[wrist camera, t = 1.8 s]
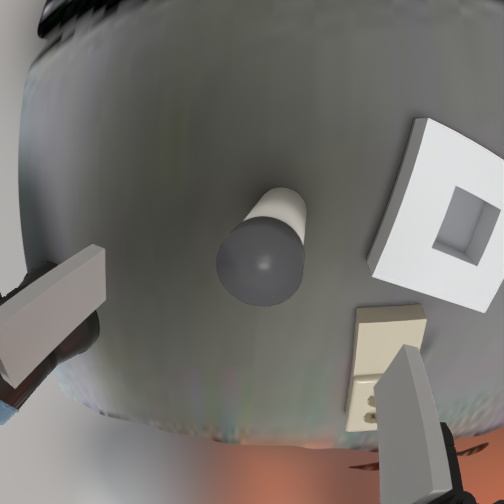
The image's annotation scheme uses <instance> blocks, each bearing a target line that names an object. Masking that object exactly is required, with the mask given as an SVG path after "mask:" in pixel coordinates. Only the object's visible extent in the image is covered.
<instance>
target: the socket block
mask: <svg viewBox="0 0 504 504" xmlns="http://www.w3.org/2000/svg"><path fill="white" fill-rule="evenodd" d="M366 261H367V264H368V267H369V270H370V273H371V276H372V277H374V278H378V279H381V280H384V281H387V282H390V283H393V284H397V285H400V286H403V287H406V288H409V289H412V290H415V291H418V292H422V293H425V294H428V295H431V296H434V297H437V298H440V299H443V300H446V301H449V302H452V303H456V304H459V305H462V306H465V307H468V308H471V309H474V310H477V311H480V312H483V313H485V311H486V310H487V308H488V306H489V305H490V303H491V301H492V299H493V297H494V296H495V294H496V292H497V290H498V288H499V286H500V284H501V282H502V280H503V278H504V160H503V159H501V158H500V157H498V156H497V155H495V154H493V153H492V152H490V151H489V150H487V149H485V148H484V147H482V146H480V145H479V144H477V143H475V142H474V141H472V140H470V139H468V138H466V137H465V136H463V135H461V134H459V133H457V132H455V131H454V130H452V129H450V128H448V127H446V126H444V125H442V124H440V123H438V122H436V121H434V120H432V119H430V118H418V119H414V120H413V124H412V128H411V131H410V135H409V139H408V142H407V146H406V149H405V152H404V156H403V159H402V162H401V165H400V168H399V172H398V175H397V178H396V181H395V184H394V187H393V190H392V192H391V195H390V198H389V201H388V204H387V207H386V209H385V212H384V215H383V218H382V220H381V223H380V226H379V228H378V231H377V233H376V236H375V238H374V241H373V243H372V246H371V248H370V251H369V253H368V256H367V258H366Z"/></svg>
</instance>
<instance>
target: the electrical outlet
mask: <svg viewBox="0 0 504 504" xmlns="http://www.w3.org/2000/svg"><path fill="white" fill-rule="evenodd" d="M426 321H427V318H426V316H425V313H424V311H423V309H422V307H421V305H420V304H416V305H402V306H386V307H367V308H356V322H355V335H354V346H353V356H352V365H351V373H350V381H349V389H348V396H347V403H346V409H345V430H346V431H348V432H354V431H370V430H377V417H376V407H375V397H374V388H373V387H374V386H375V384H376V383H377V382H378V380H379V379H380V378H381V376H382V375H383V374H384V372H385V371H386V369H387V368H388V366H389V365H390V364H391V362H392V361H393V359H394V358H395V356H396V355H397V353H398V352H399V350H400V349H401V347H402V346H403V344H406V345H410V346H414V347H418V349H419V351H420V347H421V343H422V339H423V334H424V330H425V326H426Z"/></svg>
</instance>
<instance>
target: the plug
mask: <svg viewBox="0 0 504 504" xmlns="http://www.w3.org/2000/svg"><path fill="white" fill-rule="evenodd" d="M306 215H307V208H306V204H305V202H304V200H303V198H302V197H301V196H300V195H299V194H298V193H297V192H296V191H294V190H292V189H289V188H285V187H278V188H274V189H271V190H269V191H268V192H266V193H265V194H264V195H263V196H262V197H261V199H260V200H259V201H258V203H257V204H256V205H255V206H254V208H253V209H252V210H251V212H250V213H249V214H248V215H247V217H246V218H245V219H244V221H243V222H241V223H240V224H239V225H237V226H236V227H235V228H234V230H233V231H232V232H231V233H230V235H229V236H228V237H227V238H226V240H225V241H224V242H223V244H222V245H221V247H220V249H219V251H218V255H217V260H216V267H217V272H218V276H219V278H220V281H221V282H222V284H223V286H224V287H225V288H226V290H227V291H228V292H229V293H230V294H231V295H233V296H234V297H235V298H237V299H238V300H240V301H242V302H244V303H247V304H250V305H254V306H264V307H265V306H273V305H277V304H280V303H282V302H284V301H286V300H287V299H289V298H290V297H291V296H292V295H293V294H294V293H295V292H296V291H297V289H298V287H299V285H300V283H301V280H302V277H303V268H304V258H305V253H304V247H303V244H304V235H305V225H306Z"/></svg>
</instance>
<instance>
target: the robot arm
mask: <svg viewBox="0 0 504 504" xmlns="http://www.w3.org/2000/svg"><path fill="white" fill-rule="evenodd" d="M105 300H106V280H105V249H104V248H102V247H99V246H97V245H94V244H91V245H90V246H88V247H86V248H85V249H83V250H81V251H80V252H78V253H77V254H75V255H74V256H72V257H70V258H69V259H67V260H66V261H64V262H63V263H61V264H60V265H56V264H54V263H51V262H42V263H40V264H38V265H37V266H35V267H34V268H32V269H31V270H30V271H28V273H27V274H26V276H25V277H24V280H23V282H22V283H21V284H20V285H19V287H18V288H15V289H14V290H12V291H11V292H10V293H8V294H7V295H6V297H5V296H4V297H3V298H2V296H1V293H0V425H3V424H4V423H6V422H7V421H8V420H9V419H10V418H11V417H12V415H14V414H15V413H16V412H18V411H19V408H20V407H21V406H22V405H23V404H24V402H25V401H26V400H27V399H28V398H29V397H30V395H31V394H32V393H33V392H34V391H35V390H36V388H37V387H38V386H39V385H40V384H41V382H42V381H43V380H44V379H45V378H46V377H47V376H48V375H49V374H50V373H51V372H52V370H53V369H54V368H55V367H56V366H57V365H58V364H60V363H62V362H64V361H66V360H68V359H70V358H72V357H74V356H75V355H77V354H80V353H83V352H85V351H87V350H88V349H89V348H90V347H91V346H92V345H93V344H94V342H95V341H96V340H97V338H98V335H99V323H98V318H97V315H96V312H95V309H97V308H98V307H99V306H100V305H101V304H102V303H103V302H104V301H105ZM373 388H374V397H375V407H376V417H377V430H378V445H379V465H380V504H477V503H476V500H475V498H474V497H473V495H472V494H471V493H469V492H466V491H463V486H462V480H461V475H460V469H459V464H458V459H457V456H456V449H455V447H454V441H453V436H452V433H451V431H450V429H449V428H448V426H447V424H446V423H444V422H439V417H438V413H437V409H436V406H435V402H434V398H433V395H432V391H431V387H430V384H429V381H428V377H427V374H426V371H425V367H424V364H423V361H422V358H421V355H420V352H419V349H418V347H414V346H410V345H406V344H403V346H402V347H401V349H400V350H399V352H398V353H397V355H396V356H395V358H394V359H393V361H392V362H391V364H390V365H389V366H388V368H387V369H386V371H385V372H384V374H383V375H382V376H381V378H380V379H379V380H378V382H377V383H376V384H375V386H374V387H373ZM493 504H504V500H499V501H497V502H495V503H493Z"/></svg>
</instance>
